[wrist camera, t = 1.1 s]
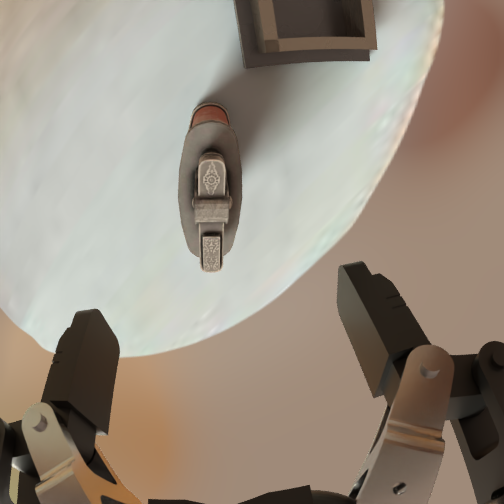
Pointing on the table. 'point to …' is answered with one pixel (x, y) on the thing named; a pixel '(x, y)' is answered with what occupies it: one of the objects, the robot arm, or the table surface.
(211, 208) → the lighter
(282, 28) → the rectangular tray
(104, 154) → the table surface
